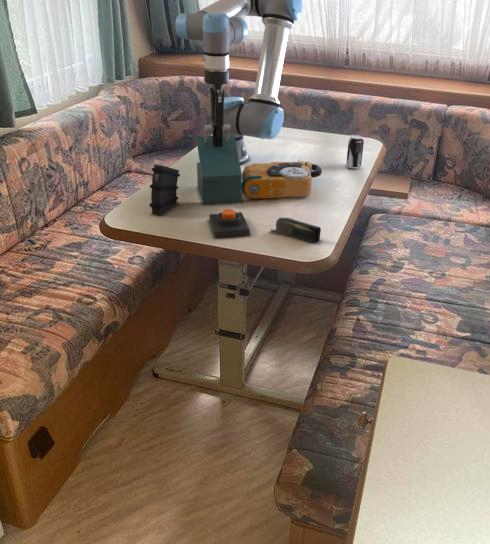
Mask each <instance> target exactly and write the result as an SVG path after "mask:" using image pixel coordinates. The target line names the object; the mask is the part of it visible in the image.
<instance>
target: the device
mask: <svg viewBox="0 0 490 544" xmlns="http://www.w3.org/2000/svg"><path fill="white" fill-rule="evenodd" d="M322 172H323V169H322V168H321V166H320V165H318V164H314V163H312V162H310V161H305V162H304V161H303V159H298V161H271V162H268V163H252V164H250V165H245V166H244V167H243V171H242V172H241V173H242V176H241V177H242V195H244V196H245V197H246V198H248V199H250V200H255V199H256V200H259V199H271V198H274V199H276V198H289V197H291V198H299V197H307V196H310V195H311V194H312V181H313V180H312V178H317V177H320V176H321V175H322Z"/></svg>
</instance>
